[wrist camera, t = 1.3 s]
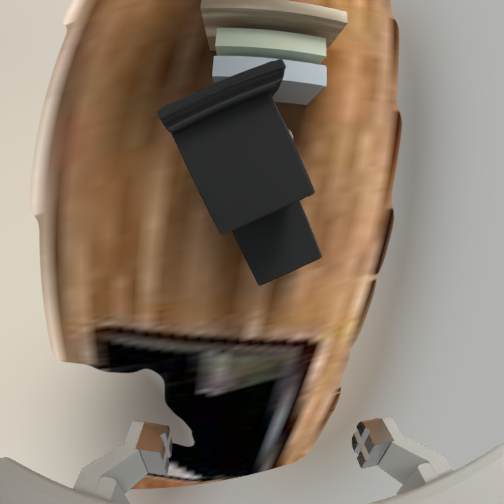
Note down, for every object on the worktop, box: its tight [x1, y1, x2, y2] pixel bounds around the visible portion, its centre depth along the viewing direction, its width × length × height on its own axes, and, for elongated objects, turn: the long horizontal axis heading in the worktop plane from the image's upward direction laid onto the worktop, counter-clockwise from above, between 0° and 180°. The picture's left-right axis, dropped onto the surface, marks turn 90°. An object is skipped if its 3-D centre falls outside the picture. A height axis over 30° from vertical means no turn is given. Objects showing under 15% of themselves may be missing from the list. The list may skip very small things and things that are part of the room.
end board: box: [200, 0, 348, 51], centre depth 31 cm, size 2×18×14 cm, turn 87°
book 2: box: [212, 56, 327, 105], centre depth 34 cm, size 3×14×11 cm, turn 87°
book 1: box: [215, 28, 326, 65], centre depth 33 cm, size 3×14×11 cm, turn 87°
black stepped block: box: [157, 59, 322, 286], centre depth 33 cm, size 23×11×24 cm, turn 25°
